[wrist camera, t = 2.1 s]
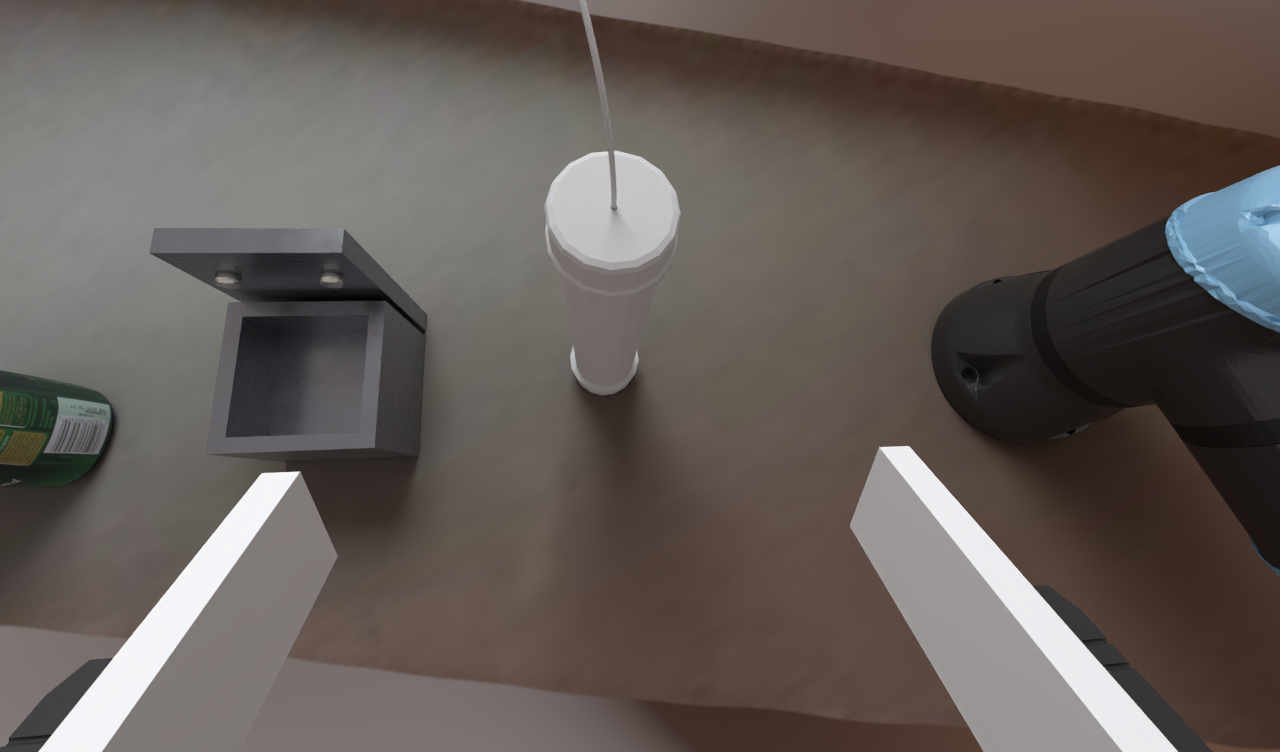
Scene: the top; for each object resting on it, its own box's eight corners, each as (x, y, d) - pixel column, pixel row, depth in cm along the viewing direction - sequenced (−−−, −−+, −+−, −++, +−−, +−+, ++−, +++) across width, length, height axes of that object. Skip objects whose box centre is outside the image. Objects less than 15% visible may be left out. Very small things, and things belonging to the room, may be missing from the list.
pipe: (584, 406, 41) (554, 201, 12) (560, 339, 42) (478, 1, 13) (645, 385, 42) (757, 144, 13) (620, 319, 43) (670, -38, 14)
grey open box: (418, 456, 39) (323, 437, 25) (285, 461, 38) (111, 445, 24) (426, 314, 42) (343, 228, 28) (302, 315, 41) (154, 228, 27)
